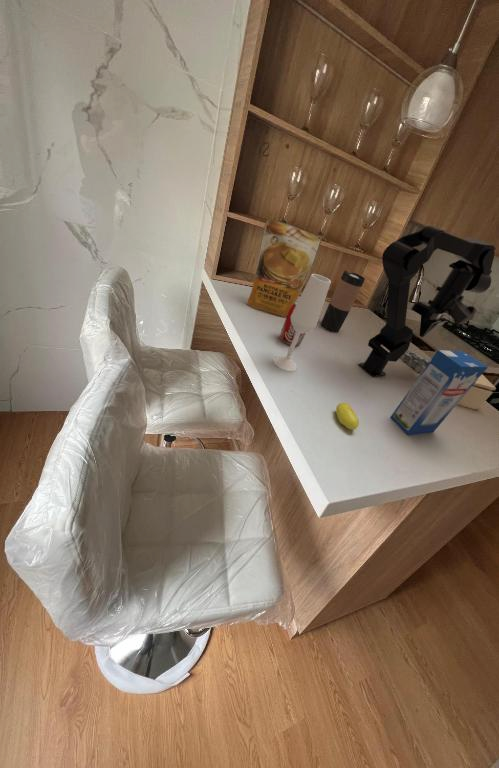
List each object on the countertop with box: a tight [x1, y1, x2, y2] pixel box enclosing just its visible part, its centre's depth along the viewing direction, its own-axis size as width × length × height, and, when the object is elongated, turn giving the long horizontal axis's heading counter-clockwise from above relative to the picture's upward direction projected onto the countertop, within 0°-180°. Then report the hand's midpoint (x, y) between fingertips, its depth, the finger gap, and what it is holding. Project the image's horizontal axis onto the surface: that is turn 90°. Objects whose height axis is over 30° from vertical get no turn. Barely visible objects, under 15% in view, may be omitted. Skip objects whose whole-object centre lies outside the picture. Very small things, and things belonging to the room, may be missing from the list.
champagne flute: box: [273, 273, 332, 372], centre depth 82 cm, size 7×7×24 cm
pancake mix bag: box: [245, 219, 322, 318], centre depth 110 cm, size 7×19×28 cm, turn 87°
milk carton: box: [390, 349, 489, 436], centre depth 77 cm, size 10×6×20 cm, turn 114°
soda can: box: [279, 300, 306, 346], centre depth 98 cm, size 7×7×12 cm
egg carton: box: [399, 349, 431, 374], centre depth 114 cm, size 11×8×4 cm
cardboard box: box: [456, 385, 494, 411], centre depth 103 cm, size 10×12×7 cm
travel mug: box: [320, 270, 366, 333], centre depth 115 cm, size 8×8×20 cm
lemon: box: [335, 402, 360, 431], centre depth 74 cm, size 4×8×4 cm, turn 7°
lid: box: [473, 374, 497, 391], centre depth 100 cm, size 10×12×1 cm
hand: (421, 336), depth 100 cm, fingers closed
